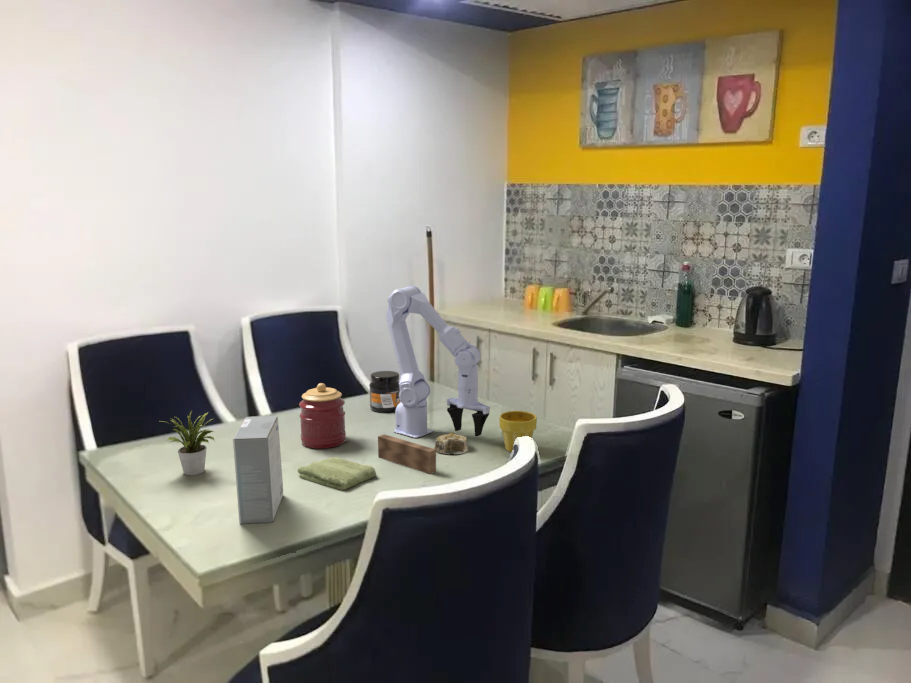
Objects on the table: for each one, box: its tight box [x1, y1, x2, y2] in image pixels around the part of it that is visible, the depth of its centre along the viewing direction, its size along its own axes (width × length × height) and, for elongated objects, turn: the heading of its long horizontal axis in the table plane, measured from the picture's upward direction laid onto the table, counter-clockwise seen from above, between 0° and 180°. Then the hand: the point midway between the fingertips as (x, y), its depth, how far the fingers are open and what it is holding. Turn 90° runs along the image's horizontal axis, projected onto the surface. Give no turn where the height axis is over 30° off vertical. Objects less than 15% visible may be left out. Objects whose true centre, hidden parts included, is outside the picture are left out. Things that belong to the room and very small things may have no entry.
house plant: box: [160, 410, 216, 476], centre depth 188 cm, size 14×14×16 cm
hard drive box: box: [232, 415, 284, 525], centre depth 166 cm, size 16×8×20 cm, turn 5°
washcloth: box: [297, 457, 377, 491], centre depth 187 cm, size 13×18×3 cm
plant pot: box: [498, 410, 538, 453], centre depth 206 cm, size 10×10×10 cm
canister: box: [298, 382, 347, 450], centre depth 212 cm, size 13×13×18 cm
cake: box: [433, 432, 470, 455], centre depth 207 cm, size 10×10×5 cm
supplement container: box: [368, 370, 401, 413], centre depth 245 cm, size 10×10×12 cm
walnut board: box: [377, 433, 437, 475], centre depth 195 cm, size 19×2×6 cm, turn 50°
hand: (467, 432), depth 215 cm, fingers open, 7 cm apart
